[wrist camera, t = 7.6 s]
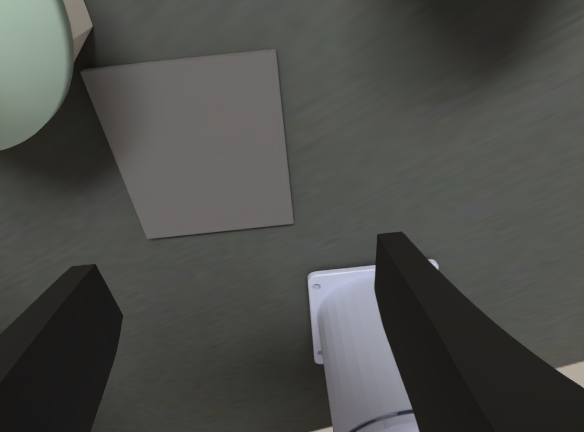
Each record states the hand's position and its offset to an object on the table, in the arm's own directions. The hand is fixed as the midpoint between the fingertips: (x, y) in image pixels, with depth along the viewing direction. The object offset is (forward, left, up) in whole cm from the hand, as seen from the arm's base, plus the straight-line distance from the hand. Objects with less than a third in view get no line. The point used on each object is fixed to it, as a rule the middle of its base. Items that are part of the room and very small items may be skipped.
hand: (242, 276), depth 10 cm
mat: (-2, +3, -10) cm, 10 cm away
